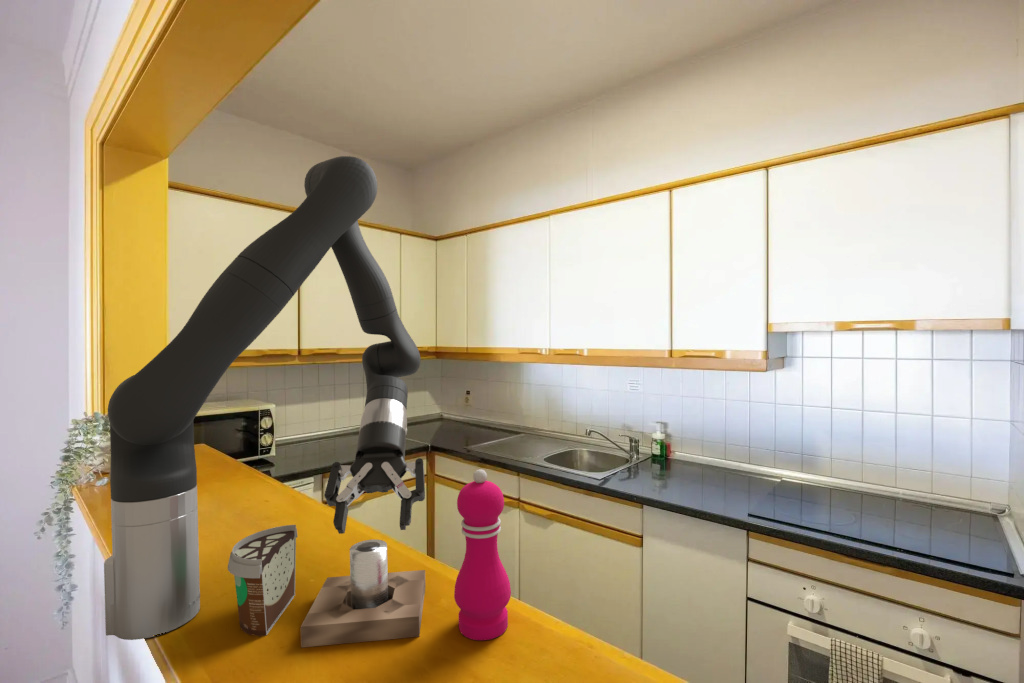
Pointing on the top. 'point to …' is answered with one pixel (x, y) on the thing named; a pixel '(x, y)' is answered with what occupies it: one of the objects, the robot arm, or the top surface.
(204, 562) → the top surface
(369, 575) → the bushing
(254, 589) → the food container
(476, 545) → the pepper mill
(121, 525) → the robot arm
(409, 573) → the frame
